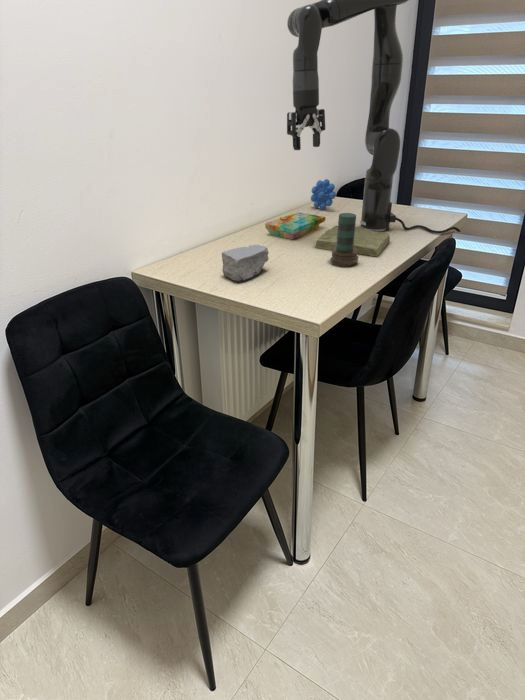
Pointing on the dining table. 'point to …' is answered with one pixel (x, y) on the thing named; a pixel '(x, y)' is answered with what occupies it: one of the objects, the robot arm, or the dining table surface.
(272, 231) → the puzzle game
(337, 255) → the chip pile
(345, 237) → the chip column
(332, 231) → the decorative tile
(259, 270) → the decorative stone
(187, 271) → the dining table surface
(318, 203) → the grapes
